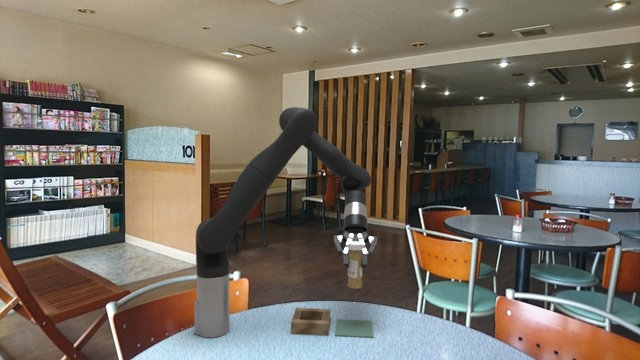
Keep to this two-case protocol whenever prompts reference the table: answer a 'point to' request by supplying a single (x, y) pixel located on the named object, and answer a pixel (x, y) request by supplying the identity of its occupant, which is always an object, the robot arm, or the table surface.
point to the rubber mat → (354, 328)
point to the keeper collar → (311, 321)
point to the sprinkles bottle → (355, 264)
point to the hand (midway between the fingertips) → (355, 266)
